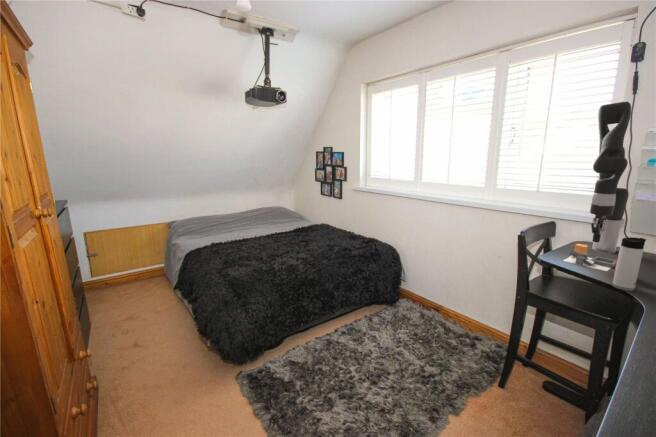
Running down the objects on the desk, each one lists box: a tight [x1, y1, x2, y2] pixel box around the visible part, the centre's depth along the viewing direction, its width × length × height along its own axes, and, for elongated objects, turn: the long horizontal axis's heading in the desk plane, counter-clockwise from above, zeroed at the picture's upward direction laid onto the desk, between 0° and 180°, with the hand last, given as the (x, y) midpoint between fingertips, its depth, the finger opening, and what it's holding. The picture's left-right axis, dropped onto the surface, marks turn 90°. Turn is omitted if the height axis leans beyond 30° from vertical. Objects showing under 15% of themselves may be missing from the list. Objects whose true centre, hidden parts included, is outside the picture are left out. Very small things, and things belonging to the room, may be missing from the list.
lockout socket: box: [591, 256, 617, 269], centre depth 142 cm, size 8×8×2 cm
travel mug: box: [612, 236, 647, 292], centre depth 118 cm, size 6×7×20 cm
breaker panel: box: [562, 255, 611, 272], centre depth 144 cm, size 15×16×2 cm
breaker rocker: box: [569, 250, 595, 266], centre depth 143 cm, size 4×9×1 cm, turn 36°
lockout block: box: [573, 243, 589, 255], centre depth 150 cm, size 4×4×6 cm
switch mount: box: [575, 254, 589, 266], centre depth 143 cm, size 6×2×3 cm, turn 126°
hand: (595, 241), depth 138 cm, fingers closed
